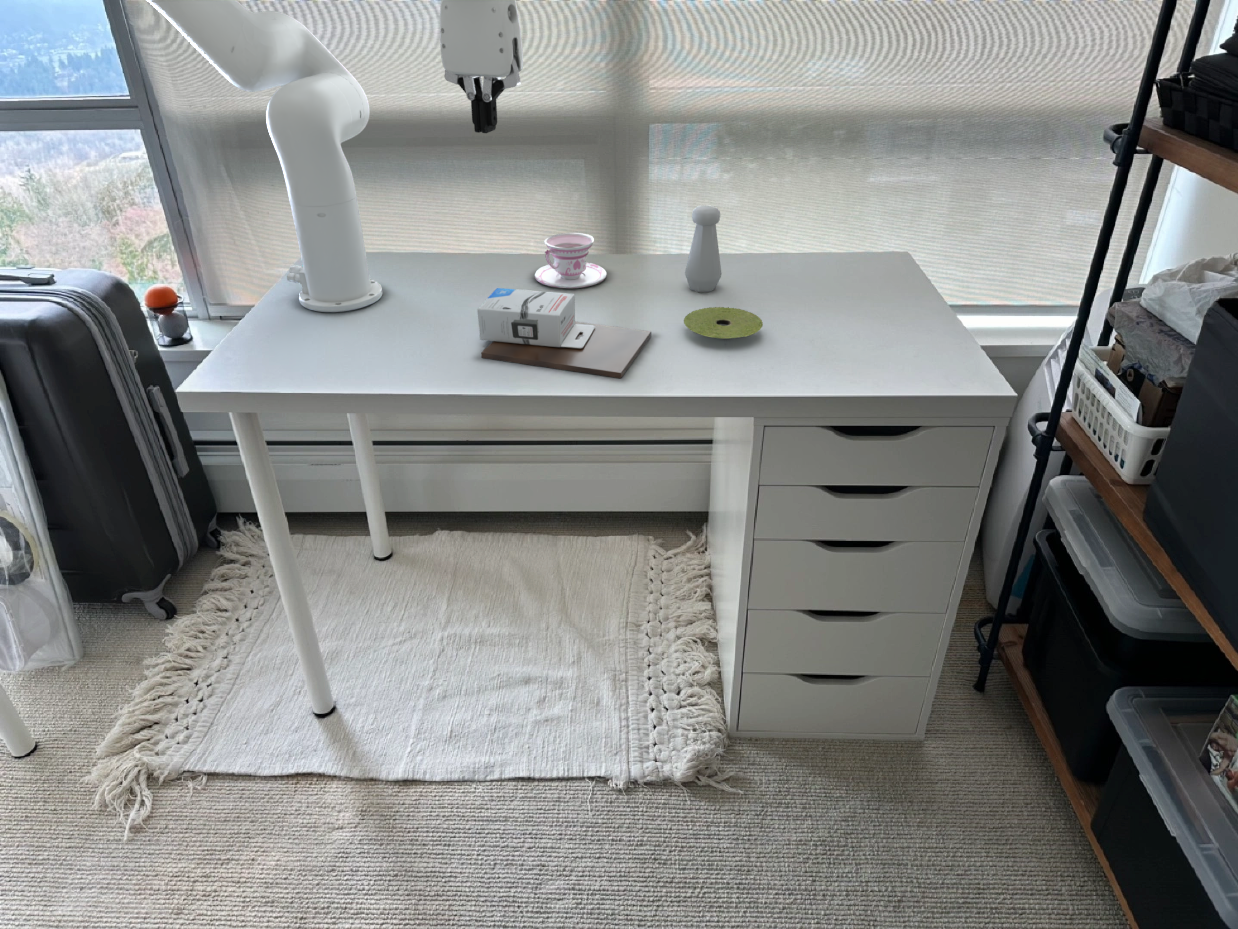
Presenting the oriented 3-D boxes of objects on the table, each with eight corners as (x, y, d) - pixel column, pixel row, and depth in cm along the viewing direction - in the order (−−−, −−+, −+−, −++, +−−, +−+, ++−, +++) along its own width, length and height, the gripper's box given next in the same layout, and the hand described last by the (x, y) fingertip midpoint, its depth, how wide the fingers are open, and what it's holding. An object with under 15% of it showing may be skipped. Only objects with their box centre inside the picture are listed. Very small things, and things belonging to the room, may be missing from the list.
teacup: (575, 259, 150) (574, 224, 147) (621, 277, 143) (621, 240, 139) (520, 276, 143) (517, 239, 140) (565, 295, 136) (564, 257, 132)
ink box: (496, 286, 124) (596, 293, 121) (498, 318, 126) (596, 326, 124) (476, 308, 117) (581, 316, 114) (479, 341, 119) (582, 350, 117)
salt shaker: (726, 285, 140) (732, 205, 133) (710, 296, 135) (715, 214, 128) (694, 278, 142) (698, 199, 135) (677, 289, 138) (681, 208, 131)
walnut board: (481, 357, 117) (480, 352, 116) (522, 319, 128) (522, 314, 127) (621, 378, 111) (621, 372, 111) (651, 336, 123) (651, 331, 122)
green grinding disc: (743, 356, 117) (744, 343, 116) (669, 340, 122) (670, 327, 120) (773, 327, 125) (774, 315, 124) (703, 313, 130) (703, 301, 129)
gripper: (543, -23, 108) (546, 130, 118) (438, -28, 112) (450, 120, 122) (517, -20, 102) (523, 141, 112) (407, -25, 106) (423, 131, 116)
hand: (485, 130), depth 117 cm, fingers closed
